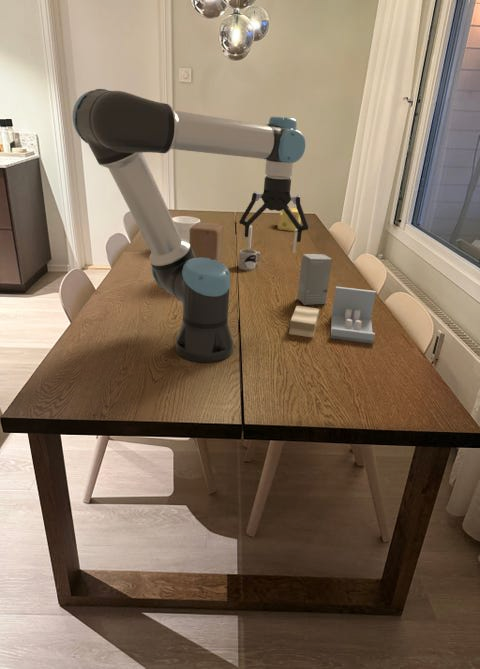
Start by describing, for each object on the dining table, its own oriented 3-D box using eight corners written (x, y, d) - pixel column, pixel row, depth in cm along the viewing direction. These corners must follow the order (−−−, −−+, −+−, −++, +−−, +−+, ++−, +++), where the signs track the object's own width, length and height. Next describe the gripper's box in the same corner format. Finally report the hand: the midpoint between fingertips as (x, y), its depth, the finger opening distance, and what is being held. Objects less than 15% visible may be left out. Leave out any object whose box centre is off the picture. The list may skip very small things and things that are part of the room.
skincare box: (303, 305, 161) (309, 259, 154) (295, 297, 167) (300, 253, 160) (327, 304, 163) (333, 258, 156) (318, 296, 169) (324, 252, 162)
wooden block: (215, 286, 173) (217, 230, 164) (188, 283, 174) (188, 227, 165) (221, 277, 182) (224, 224, 173) (196, 274, 183) (196, 221, 174)
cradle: (373, 343, 138) (379, 311, 134) (330, 338, 140) (335, 306, 136) (370, 320, 153) (375, 291, 149) (331, 316, 155) (336, 286, 150)
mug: (245, 271, 189) (246, 254, 187) (235, 266, 194) (235, 250, 191) (264, 267, 195) (266, 251, 192) (254, 262, 200) (255, 247, 197)
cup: (203, 254, 206) (204, 222, 200) (175, 256, 201) (175, 223, 195) (194, 246, 216) (195, 215, 210) (167, 248, 212) (167, 216, 206)
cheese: (277, 229, 253) (279, 210, 249) (281, 225, 262) (283, 206, 258) (297, 232, 251) (299, 212, 246) (300, 227, 260) (303, 208, 255)
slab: (313, 338, 140) (315, 324, 138) (289, 334, 141) (290, 320, 139) (317, 322, 151) (319, 308, 149) (295, 318, 152) (296, 305, 150)
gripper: (322, 178, 140) (312, 250, 149) (236, 171, 142) (232, 242, 151) (323, 182, 133) (313, 257, 142) (232, 174, 135) (228, 249, 144)
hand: (271, 250), depth 147 cm, fingers open, 13 cm apart
